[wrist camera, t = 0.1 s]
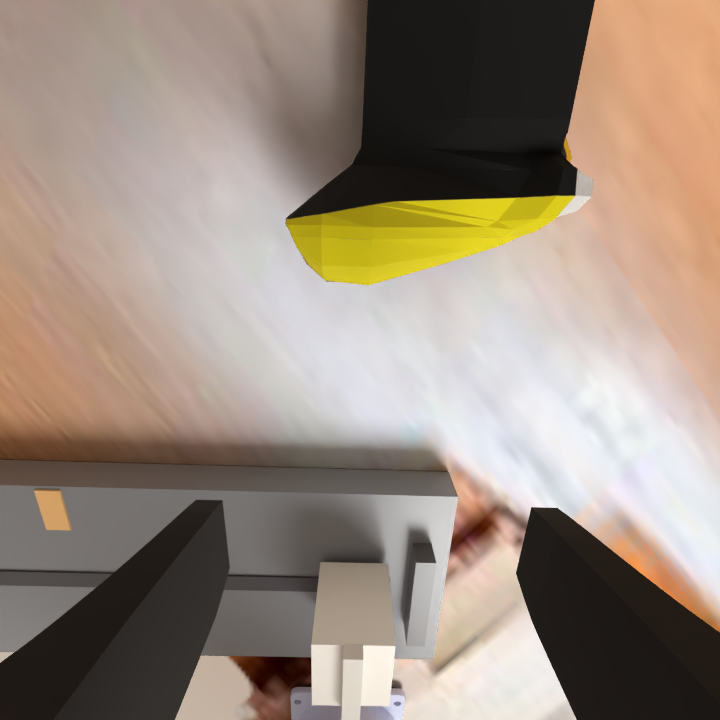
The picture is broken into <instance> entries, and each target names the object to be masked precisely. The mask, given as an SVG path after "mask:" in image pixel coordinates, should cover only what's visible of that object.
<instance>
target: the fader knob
mask: <svg viewBox="0 0 720 720" xmlns="http://www.w3.org/2000/svg"><path fill="white" fill-rule="evenodd" d="M395 647H396V645H395V634H394V623H393V613H392V602H391V591H390V580H389V569H388V564H384V563H339V562H320V570H319V579H318V588H317V597H316V606H315V615H314V624H313V633H312V642H311V667H312V705H331V706H342V718H341V720H360V709H361V706H390V696H391V686H392V676H393V666H394V657H395Z"/></svg>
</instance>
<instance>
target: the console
mask: <svg viewBox="0 0 720 720" xmlns="http://www.w3.org/2000/svg"><path fill="white" fill-rule="evenodd" d="M195 500H223V509H224V518H225V527H226V536H227V545H228V555H229V564H230V569H229V573H228V576H227V580H226V584H225V587H224V591H223V594H222V598H221V601H220V604H219V608H218V611H217V615H216V618H215V620H214V623H213V625H212V628H211V630H210V633H209V636H208V638H207V641H206V643H205V646H204V648H203V651H202V653H201V655H208V656H265V657H311V642H312V633H313V624H314V615H315V606H316V597H317V588H318V579H319V570H320V562H339V563H384V564H388V569H389V580H390V591H391V602H392V613H393V623H394V634H395V645H396V647H395V657H394V659H433V656H434V649H435V643H436V636H437V630H438V623H439V617H440V610H441V604H442V597H443V591H444V585H445V578H446V572H447V565H448V559H449V552H450V546H451V539H452V533H453V526H454V520H455V513H456V507H457V500H458V495H457V493H456V490H455V487H454V485H453V482H452V480H451V477H450V474H449V472H440V471H403V470H366V469H329V468H292V467H255V466H218V465H181V464H144V463H107V462H70V461H33V460H0V652H16V651H17V650H18V649H20V648H21V647H22V646H24V645H25V644H26V643H28V642H29V641H30V640H32V639H33V638H34V637H35V636H37V635H38V634H39V633H41V632H42V631H43V630H44V629H46V628H47V627H48V626H50V625H51V624H52V623H53V622H55V621H56V620H57V619H58V618H59V617H61V616H62V615H63V614H64V613H66V612H67V611H68V610H69V609H70V608H72V607H73V606H74V605H75V604H77V603H78V602H79V601H80V600H81V599H83V598H84V597H85V596H86V595H88V594H89V593H90V592H91V591H93V590H94V589H95V588H96V587H97V586H99V585H100V584H101V583H102V582H103V581H105V580H106V579H107V578H108V577H109V576H110V575H112V574H113V573H114V572H115V571H116V570H117V569H118V568H120V567H121V566H122V565H123V564H124V563H125V562H126V561H128V560H129V559H130V558H131V557H132V556H133V555H134V554H136V553H137V552H138V551H139V550H140V549H141V548H142V547H144V546H145V545H146V544H147V543H148V542H149V541H150V540H151V539H152V538H154V537H155V536H156V535H157V534H158V533H159V532H160V531H161V530H162V529H164V528H165V527H166V526H167V525H168V524H169V523H170V522H171V521H172V520H174V519H175V518H176V517H177V516H178V515H179V514H180V513H181V512H183V511H184V510H185V509H186V508H187V507H188V506H189V505H191V504H192V503H193V502H194V501H195Z"/></svg>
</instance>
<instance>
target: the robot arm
mask: <svg viewBox="0 0 720 720" xmlns="http://www.w3.org/2000/svg"><path fill="white" fill-rule="evenodd" d="M229 569H230V564H229V555H228V545H227V536H226V527H225V518H224V509H223V500H195V501H194V502H193V503H192V504H191V505H189V506H188V507H187V508H186V509H185V510H184V511H183V512H181V513H180V514H179V515H178V516H177V517H176V518H175V519H174V520H172V521H171V522H170V523H169V524H168V525H167V526H166V527H165V528H164V529H162V530H161V531H160V532H159V533H158V534H157V535H156V536H155V537H154V538H152V539H151V540H150V541H149V542H148V543H147V544H146V545H145V546H144V547H142V548H141V549H140V550H139V551H138V552H137V553H136V554H134V555H133V556H132V557H131V558H130V559H129V560H128V561H126V562H125V563H124V564H123V565H122V566H121V567H120V568H118V569H117V570H116V571H115V572H114V573H113V574H112V575H110V576H109V577H108V578H107V579H106V580H105V581H103V582H102V583H101V584H100V585H99V586H97V587H96V588H95V589H94V590H93V591H91V592H90V593H89V594H88V595H86V596H85V597H84V598H83V599H81V600H80V601H79V602H78V603H77V604H75V605H74V606H73V607H72V608H70V609H69V610H68V611H67V612H66V613H64V614H63V615H62V616H61V617H59V618H58V619H57V620H56V621H55V622H53V623H52V624H51V625H50V626H48V627H47V628H46V629H44V630H43V631H42V632H41V633H39V634H38V635H37V636H35V637H34V638H33V639H32V640H30V641H29V642H28V643H26V644H25V645H24V646H22V647H21V648H20V649H18V650H17V651H16V652H14V653H13V654H12V655H10V656H9V657H8V658H6V659H5V660H4V661H2V662H1V663H0V720H175V718H176V715H177V713H178V711H179V708H180V706H181V703H182V700H183V698H184V696H185V693H186V690H187V688H188V686H189V683H190V680H191V678H192V676H193V673H194V670H195V668H196V666H197V663H198V661H199V658H200V656H201V653H202V651H203V648H204V646H205V643H206V641H207V638H208V636H209V633H210V630H211V628H212V625H213V623H214V620H215V618H216V615H217V611H218V608H219V604H220V601H221V598H222V594H223V591H224V587H225V584H226V580H227V576H228V573H229ZM516 575H517V578H518V581H519V584H520V587H521V590H522V593H523V596H524V600H525V602H526V605H527V608H528V611H529V614H530V617H531V620H532V622H533V625H534V627H535V629H536V631H537V634H538V636H539V638H540V640H541V643H542V645H543V647H544V649H545V651H546V654H547V656H548V658H549V660H550V663H551V665H552V667H553V669H554V671H555V673H556V676H557V678H558V680H559V682H560V684H561V686H562V689H563V691H564V693H565V695H566V697H567V699H568V702H569V704H570V706H571V708H572V710H573V713H574V715H575V717H576V719H577V720H720V633H719V632H718V631H717V630H715V629H714V628H713V627H711V626H710V625H708V624H707V623H706V622H704V621H703V620H702V619H700V618H699V617H697V616H696V615H695V614H693V613H692V612H691V611H689V610H688V609H687V608H685V607H684V606H683V605H681V604H680V603H679V602H677V601H676V600H675V599H673V598H672V597H671V596H669V595H668V594H667V593H665V592H664V591H663V590H661V589H660V588H659V587H658V586H656V585H655V584H654V583H652V582H651V581H650V580H649V579H647V578H646V577H645V576H643V575H642V574H641V573H640V572H638V571H637V570H636V569H635V568H633V567H632V566H631V565H629V564H628V563H627V562H626V561H624V560H623V559H622V558H621V557H619V556H618V555H617V554H616V553H614V552H613V551H612V550H611V549H609V548H608V547H607V546H606V545H604V544H603V543H602V542H601V541H599V540H598V539H597V538H596V537H594V536H593V535H592V534H591V533H589V532H588V531H587V530H585V529H584V528H583V527H582V526H580V525H579V524H578V523H577V522H575V521H574V520H573V519H571V518H570V517H569V516H568V515H566V514H565V513H563V512H562V511H561V510H559V509H558V508H534V507H532V508H531V512H530V516H529V520H528V525H527V529H526V533H525V537H524V542H523V546H522V550H521V554H520V559H519V563H518V567H517V572H516ZM290 700H291V720H341V718H342V706H331V705H312V687H295V688H293V689H292V690H291V696H290ZM404 703H405V693H404V691H403V690H402V689H399V688H391V696H390V706H361V709H360V720H402V719H403V711H404Z"/></svg>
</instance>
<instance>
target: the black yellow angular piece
mask: <svg viewBox="0 0 720 720" xmlns="http://www.w3.org/2000/svg"><path fill="white" fill-rule="evenodd" d="M594 2H595V0H368V9H367V33H366V57H365V81H364V105H363V128H362V144H361V149H360V151H359V153H358V154H357V156H356V158H355V160H354V162H353V164H352V165H351V166H350V167H348V168H347V169H346V170H345V171H343V172H342V173H341V174H340V175H338V176H337V177H336V178H334V179H333V180H332V181H331V182H329V183H328V184H327V185H326V186H324V187H323V188H322V189H321V190H319V191H318V192H317V193H316V194H315V195H313V196H312V197H311V198H310V199H309V200H307V201H306V202H305V203H304V204H303V205H301V206H300V207H299V208H298V209H297V210H295V211H294V212H293V213H292V214H290V215H289V216H288V217H287V218H286V222H285V224H286V226H287V227H288V229H289V231H290V233H291V236H292V238H293V240H294V242H295V244H296V246H297V248H298V250H299V251H300V253H301V254H302V256H303V258H304V260H305V262H306V264H307V265H308V266H310V267H311V268H312V269H313V270H314V271H315V272H316V273H317V274H319V275H320V276H321V277H322V278H323V279H324V280H325V281H326V282H344V283H354V284H363V285H371V284H374V283H378V282H381V281H385V280H388V279H392V278H395V277H399V276H402V275H406V274H409V273H413V272H416V271H420V270H423V269H427V268H430V267H434V266H437V265H441V264H444V263H448V262H451V261H454V260H457V259H460V258H463V257H466V256H469V255H472V254H476V253H479V252H482V251H485V250H488V249H491V248H494V247H497V246H500V245H503V244H505V243H507V242H509V241H511V240H513V239H516V238H518V237H520V236H523V235H526V234H529V233H532V232H535V231H537V230H538V229H540V228H542V227H543V226H545V225H546V224H548V223H549V222H551V221H552V220H554V219H556V217H558V216H562V215H565V214H569V213H572V212H576V211H577V210H578V209H580V208H581V207H582V206H583V205H584V204H585V203H586V202H587V201H588V200H589V199H590V198H591V197H592V189H593V179H591V178H590V177H588V176H586V175H585V174H583V173H581V172H580V171H578V169H577V168H576V167H574V166H573V165H572V164H571V163H570V160H571V158H572V157H571V153H570V150H569V146H568V143H567V139H566V134H567V133H568V128H569V124H570V119H571V114H572V109H573V104H574V99H575V95H576V90H577V85H578V80H579V75H580V70H581V65H582V60H583V55H584V51H585V46H586V41H587V36H588V31H589V26H590V21H591V16H592V11H593V7H594Z"/></svg>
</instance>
